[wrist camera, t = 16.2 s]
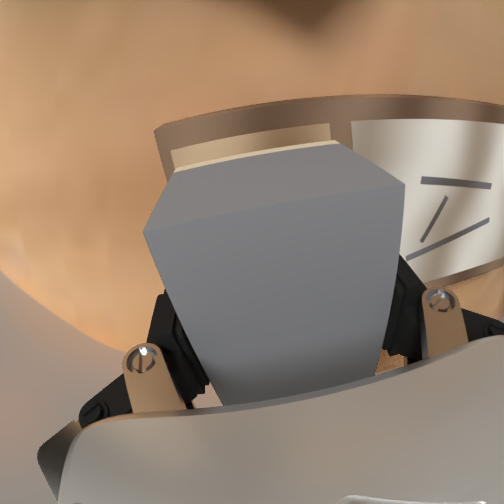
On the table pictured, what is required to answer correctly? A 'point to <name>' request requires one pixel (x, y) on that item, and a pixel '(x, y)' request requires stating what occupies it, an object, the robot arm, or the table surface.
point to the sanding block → (280, 266)
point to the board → (385, 164)
